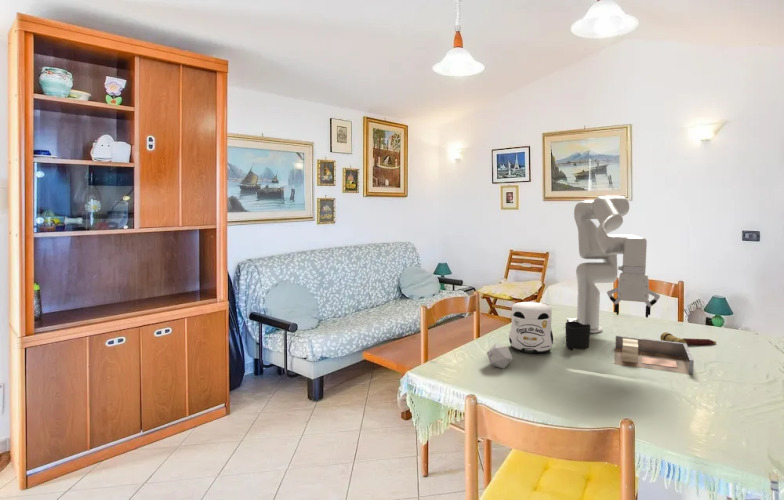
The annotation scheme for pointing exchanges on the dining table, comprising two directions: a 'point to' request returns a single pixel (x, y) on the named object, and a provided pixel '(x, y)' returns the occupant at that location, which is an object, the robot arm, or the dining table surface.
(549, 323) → the milk container
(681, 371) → the walnut board
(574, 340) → the pen holder
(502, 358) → the die
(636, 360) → the maple block
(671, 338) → the gavel
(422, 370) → the dining table surface
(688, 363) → the metal walls
